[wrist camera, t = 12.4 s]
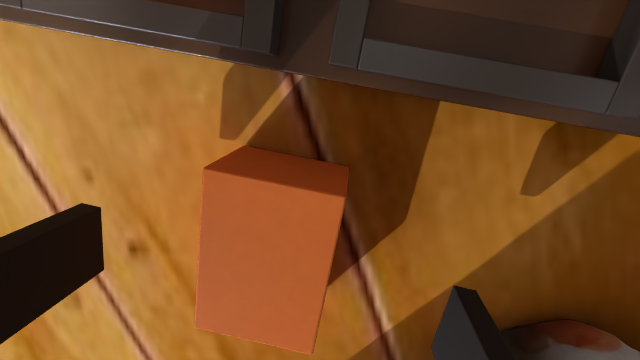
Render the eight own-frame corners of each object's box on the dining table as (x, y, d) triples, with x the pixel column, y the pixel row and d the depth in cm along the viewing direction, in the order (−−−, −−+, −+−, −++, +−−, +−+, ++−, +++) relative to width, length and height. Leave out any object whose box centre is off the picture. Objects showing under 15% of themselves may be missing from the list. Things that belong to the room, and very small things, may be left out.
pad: (231, 271, 16) (193, 328, 13) (243, 145, 14) (202, 167, 10) (322, 292, 16) (312, 355, 12) (349, 166, 14) (346, 196, 10)
